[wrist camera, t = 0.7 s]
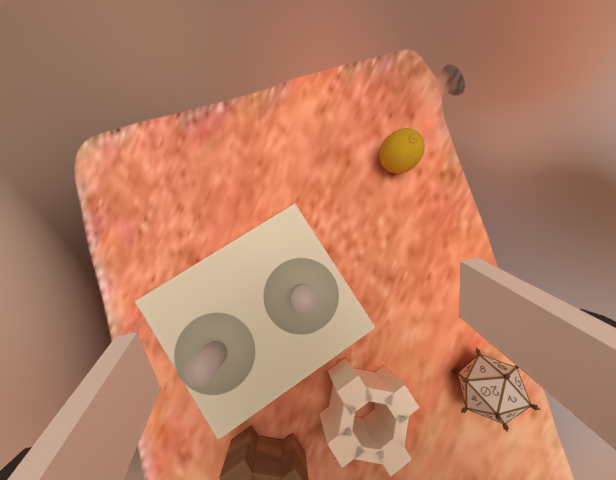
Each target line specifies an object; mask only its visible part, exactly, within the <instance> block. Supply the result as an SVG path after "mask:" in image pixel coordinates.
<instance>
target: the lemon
mask: <svg viewBox="0 0 616 480" xmlns="http://www.w3.org/2000/svg"><path fill="white" fill-rule="evenodd" d="M424 148H425V146H424V140H423V138H422V136H421V135H420V134H419V133H418V132H417V131H415V130H413V129H408V128H404V129H400V130H397V131H395V132H393V133H392V134H390V135H389V136H388V137H387V138H386V139H385V141H384V142H383V143H382V146H381V148H380V153H379V158H380V162H381V165H382V166H383V167H384V168H385V169H386V170H387V171H389V172H391V173H395V174H401V173H404V172H407V171H409V170H411V169H412V168H414V167H415V166H416V165H417V164H418V162H419V161H420V159H421V158H422V156H423V153H424Z"/></svg>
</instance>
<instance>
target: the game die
mask: <svg viewBox="0 0 616 480" xmlns="http://www.w3.org/2000/svg"><path fill="white" fill-rule="evenodd" d="M476 353H477V354H478V355H477V356H476V357H475V358H474V359H473V360H472V361H470V362H469V363H468V364H467V365H466V366H465V367H464V368H463V369H462V370H460V371H459V372H457V371H456V370H451V371H452V372H453V373H454V374H458V378H459V382H460V386H461V390H462V394H463V398H464V402H465V408H463V409H462V411H461V413H465V412H467V410H470V411H473V412H475V413H478V414H480V415H482V416H485V417H487V418H490V419H492V420H495V421H497V422H499V423H502V424H503V427H504V429H505V430H506V431H507V432H508V429H509V428H508V426H507V425H506V423H508V422H509V421H510V420H512V419H513V418H515V417H516V416H518V415H519V414H521V413H522V412H524V411H525V410H526V409H528V408H529V407H532V408H533V409H535V410H540V409H539V408H538V407H537V405H533V404H531V403H530V400H529V397H528V395H527V392H526V390H525V387H524V384H523V382H522V379H521V377H520V374H519V371H518V368H519V367H518V366H517V365H516V366H512V365H509V364H506V363H504V362H501V361H498V360H495V359H492V358H489V357H486V356H484V355H481V354H480V350H479V349H478V348H476Z"/></svg>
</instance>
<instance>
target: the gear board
mask: <svg viewBox="0 0 616 480" xmlns="http://www.w3.org/2000/svg"><path fill="white" fill-rule="evenodd" d="M135 302H136V304H137V306H138V307H139V309H140V311H141V312H142V314H143V316H144V317H145V319H146V321H147V322H148V324H149V326H150V327H151V329H152V331H153V332H154V334H155V336H156V337H157V339H158V341H159V342H160V344H161V346H162V347H163V349H164V351H165V352H166V354H167V356H168V357H169V359H170V361H171V362H172V364H173V366H174V367H175V369H176V371H177V373H178V375H179V376H180V378H181V379H182V381H183V382H184V384H185V386H186V387H187V389H188V391H189V392H190V394H191V396H192V397H193V399H194V401H195V402H196V404H197V406H198V407H199V409H200V411H201V412H202V414H203V416H204V417H205V419H206V421H207V422H208V424H209V426H210V427H211V429H212V431H213V432H214V434H215V436H216V437H217V439H218V440H219V439H220V438H222V437H223V436H225V435H226V434H227V433H229V432H230V431H232V430H233V429H234V428H236V427H237V426H239V425H240V424H241V423H243V422H244V421H246V420H247V419H248V418H250V417H251V416H253V415H254V414H255V413H257V412H258V411H260V410H261V409H262V408H264V407H265V406H267V405H268V404H269V403H271V402H272V401H274V400H275V399H276V398H278V397H279V396H281V395H282V394H283V393H285V392H286V391H288V390H289V389H290V388H292V387H293V386H295V385H296V384H297V383H299V382H300V381H302V380H303V379H304V378H306V377H307V376H309V375H310V374H311V373H313V372H314V371H316V370H317V369H318V368H320V367H321V366H323V365H324V364H325V363H327V362H328V361H330V360H331V359H332V358H334V357H335V356H337V355H338V354H339V353H341V352H342V351H344V350H345V349H346V348H348V347H349V346H351V345H352V344H353V343H355V342H356V341H358V340H359V339H360V338H362V337H363V336H365V335H366V334H367V333H369V332H370V331H372V330H373V329H374V328H376V327H375V326H374V324H373V323H372V321H371V320H370V318H369V317H368V315H367V314H366V312H365V311H364V309H363V307H362V306H361V304H360V303H359V301H358V300H357V298H356V297H355V295H354V294H353V292H352V291H351V289H350V287H349V286H348V284H347V283H346V281H345V280H344V278H343V277H342V275H341V274H340V272H339V271H338V269H337V267H336V266H335V264H334V263H333V261H332V260H331V258H330V257H329V255H328V254H327V252H326V251H325V249H324V247H323V246H322V244H321V243H320V241H319V240H318V238H317V237H316V235H315V234H314V232H313V231H312V229H311V228H310V226H309V224H308V223H307V221H306V220H305V218H304V217H303V215H302V214H301V212H300V211H299V209H298V208H297V206H296V204H293V205H291V206H290V207H288V208H287V209H285V210H283V211H282V212H280V213H278V214H277V215H275V216H273V217H272V218H270V219H269V220H267V221H265V222H264V223H262V224H260V225H259V226H257V227H255V228H254V229H252V230H251V231H249V232H247V233H246V234H244V235H242V236H241V237H239V238H238V239H236V240H234V241H233V242H231V243H229V244H228V245H226V246H224V247H223V248H221V249H220V250H218V251H216V252H215V253H213V254H211V255H210V256H208V257H206V258H205V259H203V260H202V261H200V262H198V263H197V264H195V265H193V266H192V267H190V268H188V269H187V270H185V271H184V272H182V273H180V274H179V275H177V276H175V277H174V278H172V279H171V280H169V281H167V282H166V283H164V284H162V285H161V286H159V287H157V288H156V289H154V290H153V291H151V292H149V293H148V294H146V295H144V296H143V297H141V298H139V299H138V300H136V301H135Z"/></svg>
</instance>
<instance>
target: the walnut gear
mask: <svg viewBox="0 0 616 480" xmlns="http://www.w3.org/2000/svg"><path fill="white" fill-rule="evenodd" d="M220 480H308V473H307V464H306V456H305V452H304V450H303V449H302V447H301V445H300V444H299V442H298V440H297V439H296V437H295V436H294V434H293V433H292V434H290V435H289V436H288V437H286V438H285V439H284V440H280V439H274V438H269V437H263V436H258V435H257V433H256V432H255V430H254V429H253V427H252V425H251V426H250V427H248V428H247V429H246V430H244V431H243V432H241V433H240V434H239V435H237V436H236V437H235V438H233V439H232V440H231V443H230V446H229V449H228V452H227V456H226V459H225V462H224V465H223V468H222V471H221V474H220Z"/></svg>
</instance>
